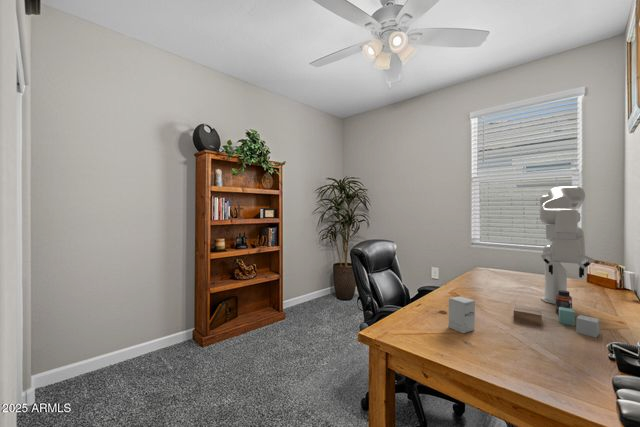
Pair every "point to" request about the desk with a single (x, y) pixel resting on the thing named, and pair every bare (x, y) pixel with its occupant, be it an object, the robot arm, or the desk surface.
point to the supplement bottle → (563, 300)
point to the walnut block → (527, 315)
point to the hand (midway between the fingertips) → (565, 275)
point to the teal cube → (566, 316)
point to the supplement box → (461, 314)
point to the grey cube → (587, 325)
